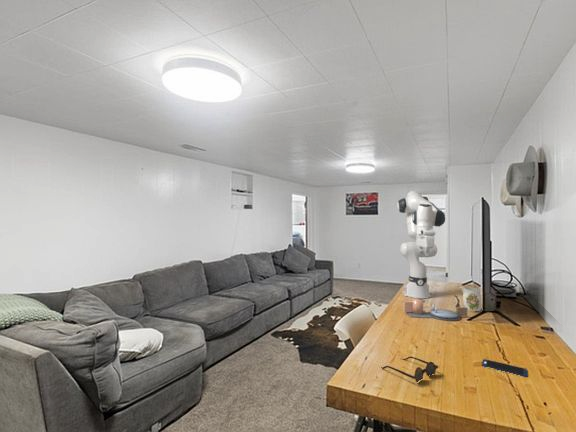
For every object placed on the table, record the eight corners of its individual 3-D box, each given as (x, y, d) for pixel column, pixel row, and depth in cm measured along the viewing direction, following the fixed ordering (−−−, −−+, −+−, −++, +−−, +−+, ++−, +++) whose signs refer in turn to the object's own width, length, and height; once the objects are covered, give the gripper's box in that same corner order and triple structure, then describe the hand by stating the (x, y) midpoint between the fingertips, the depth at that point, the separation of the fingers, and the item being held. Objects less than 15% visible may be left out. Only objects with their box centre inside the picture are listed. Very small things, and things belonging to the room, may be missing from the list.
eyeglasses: (414, 386, 105) (414, 371, 105) (377, 368, 117) (377, 355, 117) (438, 374, 114) (438, 360, 114) (401, 359, 126) (401, 346, 126)
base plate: (423, 311, 192) (423, 310, 192) (452, 312, 191) (452, 311, 191) (433, 320, 175) (433, 319, 175) (466, 321, 174) (466, 320, 174)
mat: (403, 310, 194) (403, 309, 194) (423, 311, 193) (423, 310, 193) (410, 317, 180) (410, 316, 180) (432, 318, 179) (432, 317, 179)
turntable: (435, 317, 177) (436, 308, 177) (426, 310, 191) (426, 302, 191) (472, 319, 175) (472, 310, 175) (460, 312, 189) (461, 303, 189)
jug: (402, 311, 190) (402, 297, 190) (422, 312, 189) (423, 298, 189) (405, 314, 184) (405, 300, 184) (426, 315, 183) (426, 301, 183)
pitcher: (492, 315, 187) (493, 292, 187) (457, 310, 196) (458, 288, 196) (491, 311, 196) (491, 288, 196) (458, 306, 205) (458, 285, 205)
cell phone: (483, 360, 126) (483, 358, 126) (527, 371, 118) (527, 368, 118) (481, 367, 120) (481, 365, 121) (527, 378, 112) (527, 376, 112)
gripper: (413, 230, 200) (413, 252, 200) (424, 231, 179) (424, 256, 179) (424, 230, 199) (423, 253, 199) (436, 232, 179) (436, 257, 179)
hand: (424, 254), depth 189 cm, fingers open, 8 cm apart
